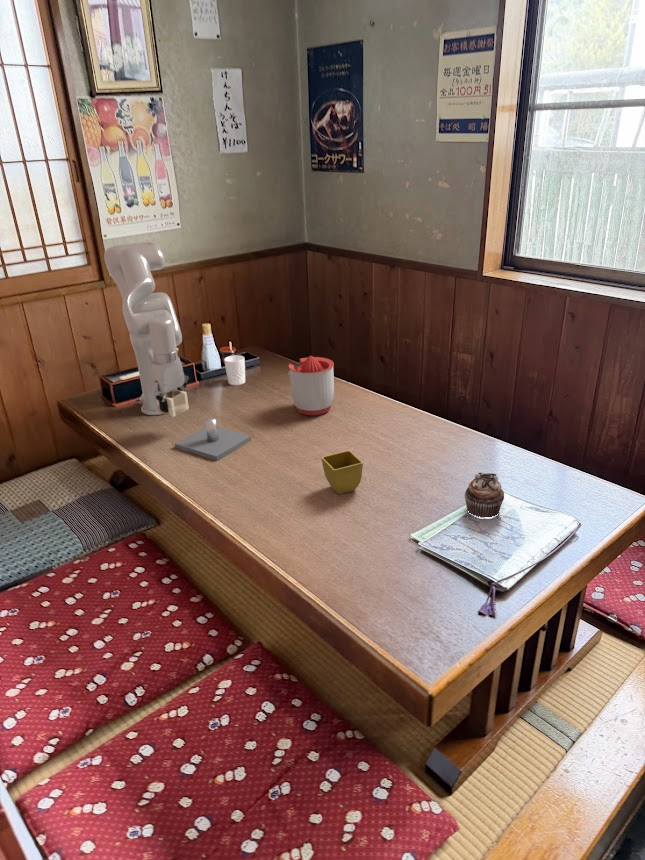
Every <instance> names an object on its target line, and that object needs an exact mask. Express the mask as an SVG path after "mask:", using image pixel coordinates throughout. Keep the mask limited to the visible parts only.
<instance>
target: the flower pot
mask: <svg viewBox="0 0 645 860" xmlns="http://www.w3.org/2000/svg"><path fill="white" fill-rule="evenodd" d="M321 463H322V469H323V472H324V476H325V478H326V480H327V482H328V484H329V485H330V487H331V488H332V489H333V490H334V491H335V492H336V493H337V494H338V495H342V494H345V493H348V492H352V491H353V492H354V491H355V490H356V489H357V488H358V487H359V485H360V483H361V481H362V476H363V466H364V462H363V461H362V459H360V458H359V457H357V456H356V454H354V453H353V452H352V451H351V450H344V451H341V452H336V453H331V454H328V455H324V456H321Z"/></svg>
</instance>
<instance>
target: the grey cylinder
mask: <svg viewBox="0 0 645 860" xmlns="http://www.w3.org/2000/svg"><path fill="white" fill-rule="evenodd" d="M217 427H218V426H217V419H216V418H215V417H207V418H205V419H204V428H206V435H207V441H208V442H216V441H218V440H219V438H218V431H217Z"/></svg>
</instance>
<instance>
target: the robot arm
mask: <svg viewBox="0 0 645 860" xmlns="http://www.w3.org/2000/svg"><path fill="white" fill-rule="evenodd" d="M103 255H104V256H103V259H104V263H105V266H106V269H107V271H108V274H109V275H110V277H111V279H112V280H113V282H114V283H115V284H116V286H117V288H118V290H119V292H120V296H121V300H122V307H121V308H122V314H123V318H124V322H125V324H126V327H127V329H128V332H129V340H130V342H131V343H130V344H131V346H132V348H133V352H134V355H135V359H136V364H137V369H138V375H139V380H140V385H141V391H142V394H141V395H140V397H139V398H138V400H139V401H141V402H142V403H143V404H142V406H141V407H140V408H141V413H142V414H144V415H147V416H158V415H159V416H160V415H164V414H163V413H160V412H158V407H157V401H156V399H157V400H158V401H159V405H160V410H161V411H163V412H166V413H167V412H168V405H167V401H165V399H166V395H167V393H168V392H170V391H172V390H174V389H177V390H181V391H184V392H186V388H187V385H188V382H189V379H190V377H189V376H188V375H186V374H185V373H184V368H183V365H182V361H181V359H180V357H179V356H178V355H179V354H178V352H179V348H178V347H177V346H179V345H181V343H182V342H183V335H182V331H181V326H180V324H179V320H178V318H177V317H178V316H177V314H176V310H175V307H174V305H173V301H172V300H171V297H170V296H169V294H167V293H165V292H154V291H155V289H156V283H155V280H154V276H153V274H152V272H151V271H160V270H162V269H164V267H165V263H166V261H165V256H164V253H163V250H162V249H161V247H160V246H159V245H158V244H156V243H153V242H151V241H142V242H135V243H125V244H118V245H113V246H110V247H108V248H106V250H105V251H104V254H103ZM162 393H163V395H162V397H161V394H162Z"/></svg>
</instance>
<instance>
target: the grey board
mask: <svg viewBox="0 0 645 860" xmlns="http://www.w3.org/2000/svg"><path fill="white" fill-rule="evenodd" d="M217 431H218V438H219V440H218V441H216V442H208V441H207V435H206V428H205V427H203V428H201V429H200V430H197V431H196V432H194V433H192V434H190V435H188V436H186V437H185V438H183V439H181V440H179V441H177V442H175V443H174V447H175V449H178V450H181V451H184V452H186V453H187V452H188V453H190V452H191V453H190V454H194V455H197V456H201V457H204V458H207V459H209V460H213V461H215V462H218V461H220V460H221V459H223V458H224V457H226V456H228V455H229V454H231V453H232V451H233V452H235V451H236V450H237V448H238V449H240V448H241V447H242V445H243V446H244V445H246V444H248V443H249V442H251V441H252V437H251V435H249V434H244V433H241V432H236V431H235V430H234V431H233V430H230V429H227V428H222V427H218V426H217ZM248 441H249V442H248ZM245 443H246V444H245ZM240 446H241V447H240Z"/></svg>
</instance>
